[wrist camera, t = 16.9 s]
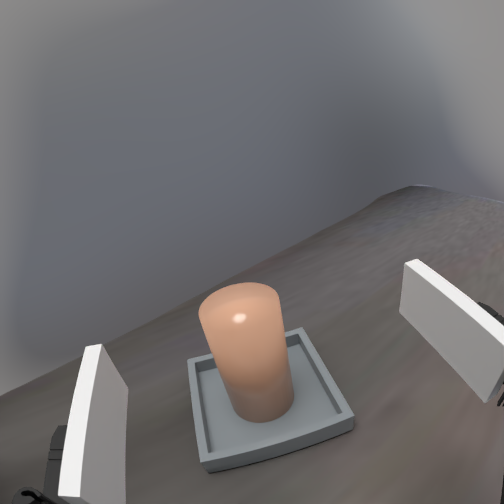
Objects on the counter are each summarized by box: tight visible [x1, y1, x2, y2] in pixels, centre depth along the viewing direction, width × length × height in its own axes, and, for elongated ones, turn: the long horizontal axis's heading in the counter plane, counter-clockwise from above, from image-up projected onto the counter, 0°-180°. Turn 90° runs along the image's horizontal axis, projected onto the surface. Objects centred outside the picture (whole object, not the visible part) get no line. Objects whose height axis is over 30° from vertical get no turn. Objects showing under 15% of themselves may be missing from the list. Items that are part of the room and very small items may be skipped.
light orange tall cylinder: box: [199, 283, 294, 423], centre depth 27 cm, size 6×6×12 cm
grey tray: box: [187, 327, 354, 473], centre depth 30 cm, size 14×14×2 cm
